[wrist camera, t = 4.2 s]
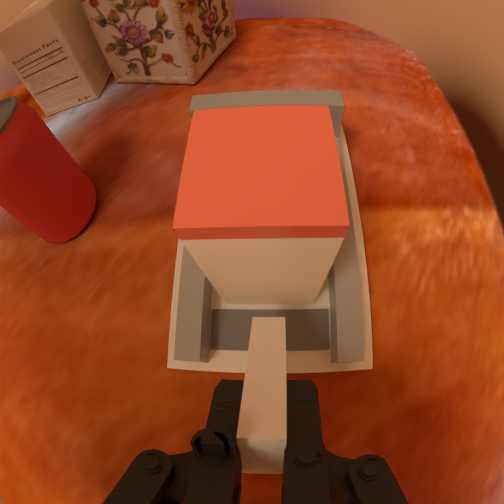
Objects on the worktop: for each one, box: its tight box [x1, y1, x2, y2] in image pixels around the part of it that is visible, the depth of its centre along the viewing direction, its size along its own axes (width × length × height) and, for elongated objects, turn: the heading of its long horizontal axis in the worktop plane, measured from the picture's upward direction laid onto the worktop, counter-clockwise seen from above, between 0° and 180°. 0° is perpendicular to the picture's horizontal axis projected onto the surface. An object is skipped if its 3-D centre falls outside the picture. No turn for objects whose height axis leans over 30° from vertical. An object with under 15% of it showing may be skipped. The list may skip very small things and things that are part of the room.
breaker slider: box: [172, 105, 350, 304], centre depth 14 cm, size 5×5×10 cm
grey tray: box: [167, 90, 373, 373], centre depth 18 cm, size 20×12×6 cm, turn 179°
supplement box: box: [0, 0, 112, 116], centre depth 24 cm, size 9×9×15 cm
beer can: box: [0, 96, 97, 244], centre depth 18 cm, size 7×7×12 cm
